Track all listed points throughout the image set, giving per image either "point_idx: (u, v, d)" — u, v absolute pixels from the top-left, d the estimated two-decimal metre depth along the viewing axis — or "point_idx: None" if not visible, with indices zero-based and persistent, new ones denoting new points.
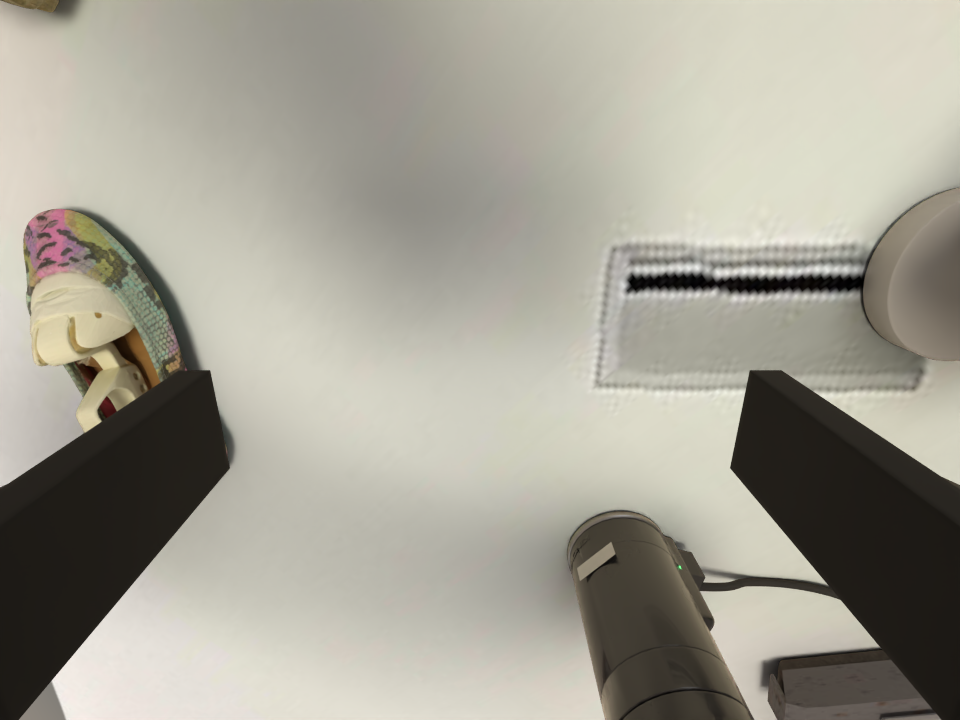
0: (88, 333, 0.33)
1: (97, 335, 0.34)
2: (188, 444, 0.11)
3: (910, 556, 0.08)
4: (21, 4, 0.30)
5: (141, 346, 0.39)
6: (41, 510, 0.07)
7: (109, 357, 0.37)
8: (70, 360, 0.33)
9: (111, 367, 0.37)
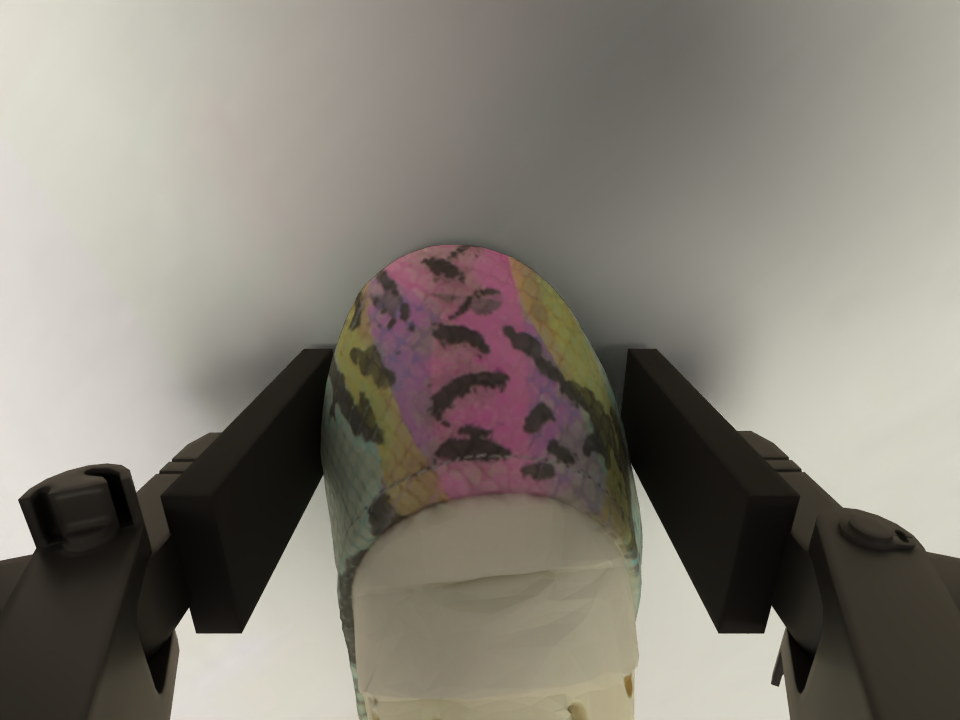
0: None
1: None
2: (321, 412, 0.13)
3: (701, 494, 0.09)
4: None
5: None
6: (255, 455, 0.09)
7: None
8: None
9: None
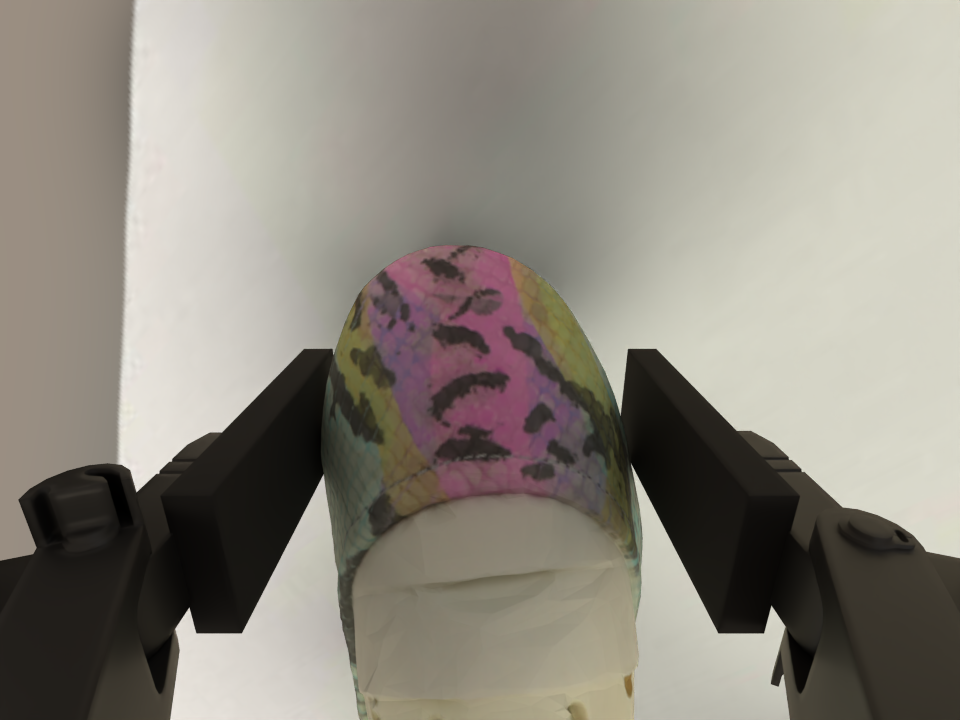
0: None
1: None
2: (321, 412, 0.13)
3: (701, 494, 0.09)
4: None
5: None
6: (254, 455, 0.09)
7: None
8: None
9: None
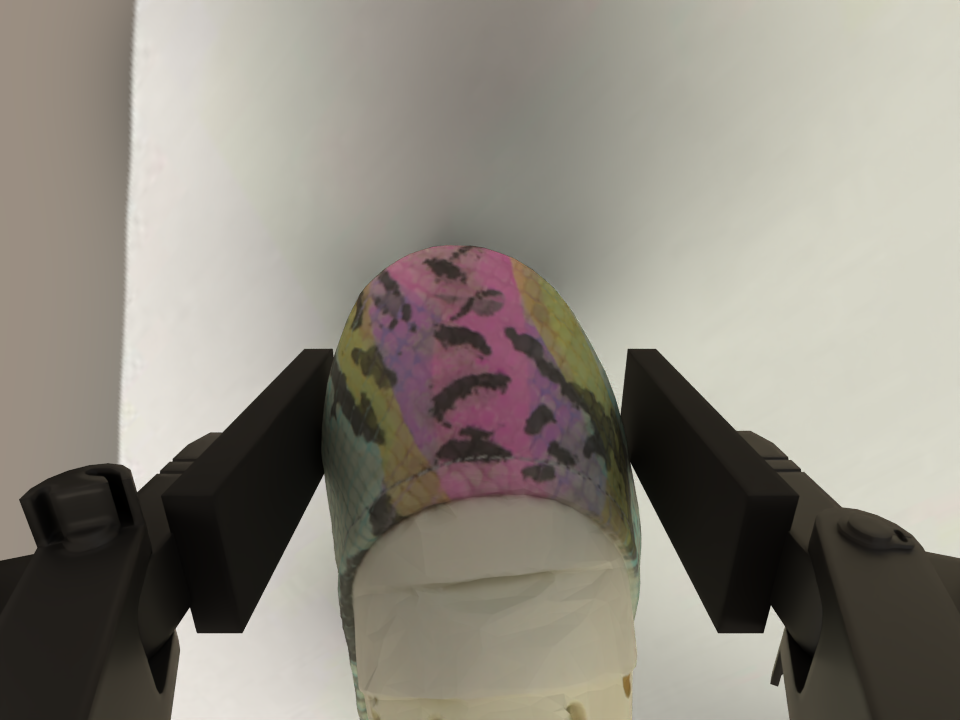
0: None
1: None
2: (322, 412, 0.13)
3: (701, 494, 0.09)
4: None
5: None
6: (255, 454, 0.09)
7: None
8: None
9: None
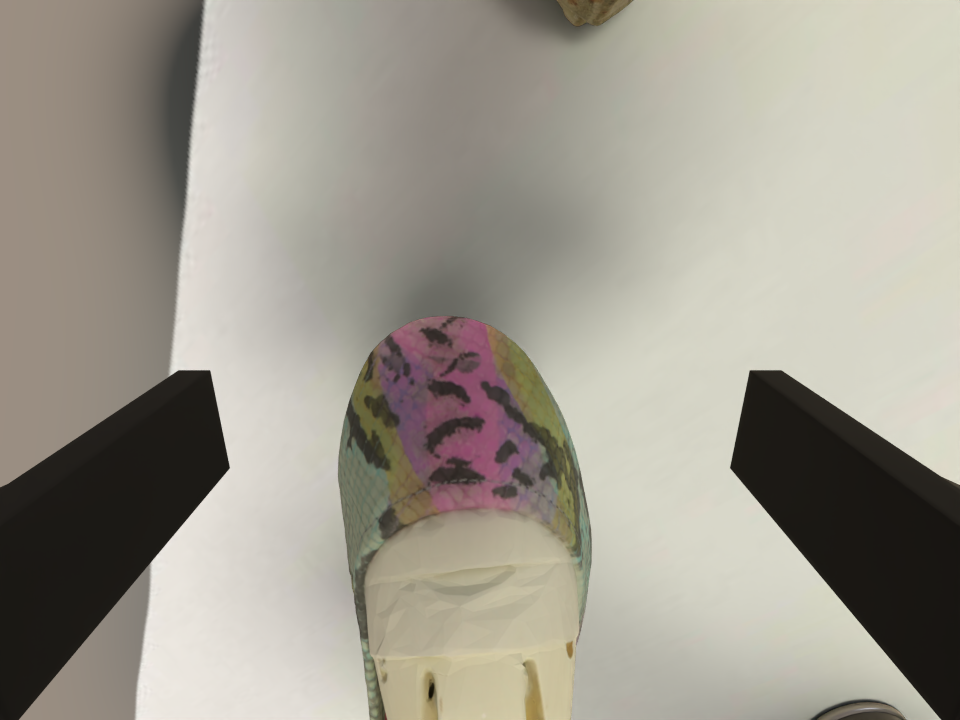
0: (563, 716, 0.12)
1: (570, 712, 0.13)
2: (188, 444, 0.11)
3: (910, 556, 0.08)
4: (596, 19, 0.23)
5: None
6: (40, 510, 0.07)
7: None
8: None
9: None
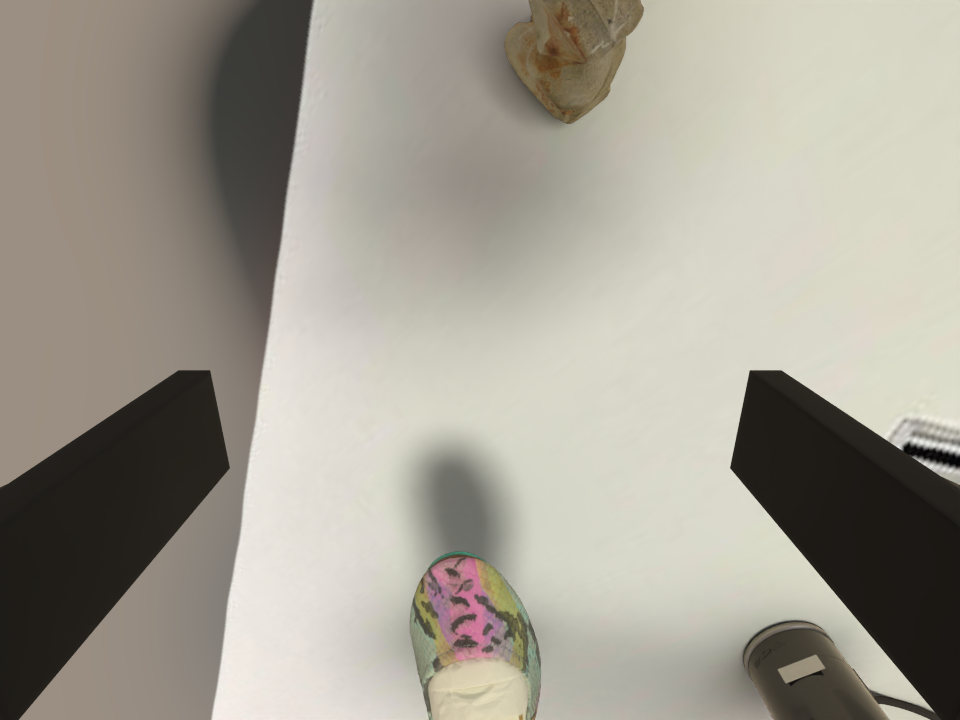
0: None
1: None
2: (188, 444, 0.11)
3: (910, 556, 0.08)
4: (568, 122, 0.34)
5: None
6: (41, 510, 0.07)
7: None
8: None
9: None
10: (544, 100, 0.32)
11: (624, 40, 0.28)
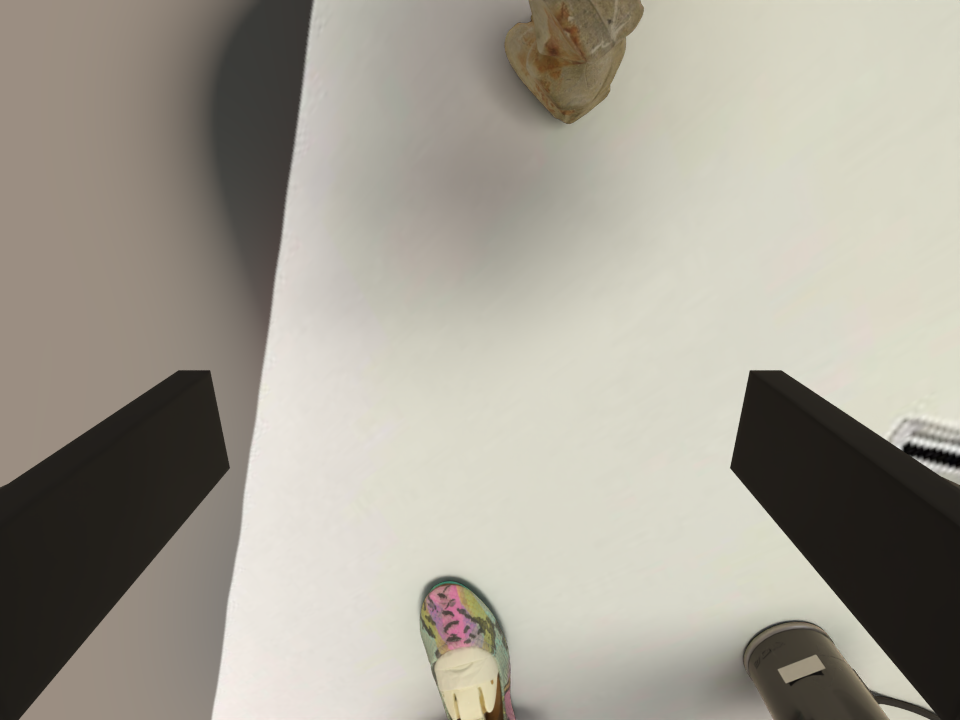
0: (490, 700, 0.47)
1: (493, 699, 0.48)
2: (188, 444, 0.11)
3: (910, 556, 0.08)
4: (568, 122, 0.34)
5: None
6: (41, 510, 0.07)
7: None
8: (476, 718, 0.47)
9: None
10: (544, 100, 0.32)
11: (624, 40, 0.28)
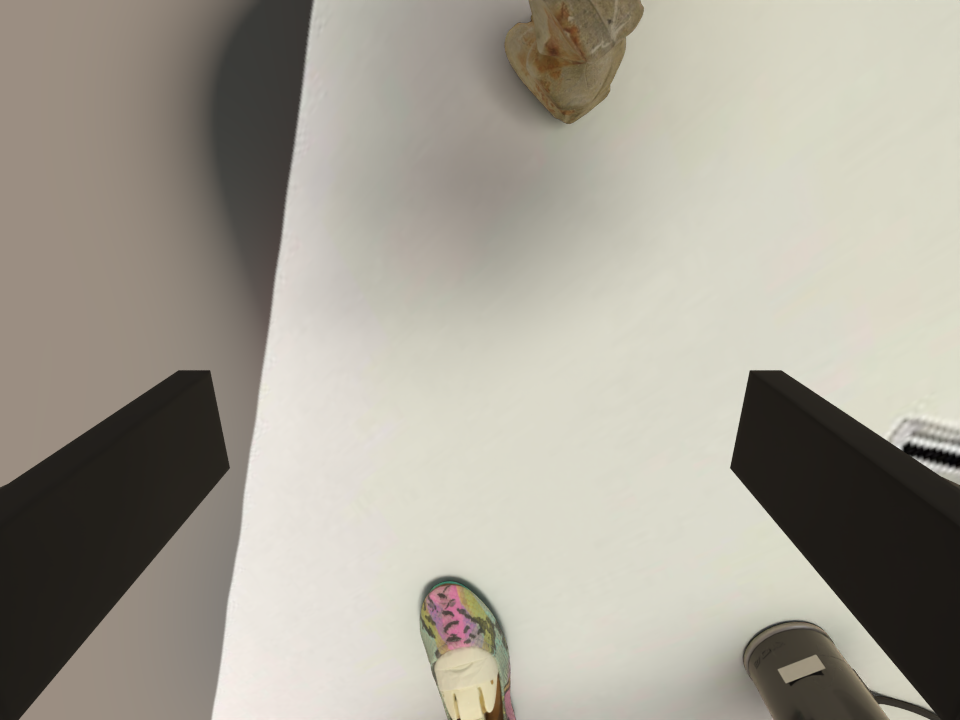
0: (490, 700, 0.47)
1: (493, 699, 0.48)
2: (188, 444, 0.11)
3: (910, 556, 0.08)
4: (568, 122, 0.34)
5: None
6: (41, 510, 0.07)
7: None
8: (476, 718, 0.47)
9: None
10: (544, 100, 0.32)
11: (624, 40, 0.28)
